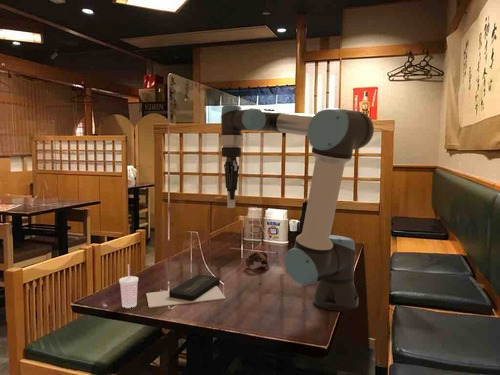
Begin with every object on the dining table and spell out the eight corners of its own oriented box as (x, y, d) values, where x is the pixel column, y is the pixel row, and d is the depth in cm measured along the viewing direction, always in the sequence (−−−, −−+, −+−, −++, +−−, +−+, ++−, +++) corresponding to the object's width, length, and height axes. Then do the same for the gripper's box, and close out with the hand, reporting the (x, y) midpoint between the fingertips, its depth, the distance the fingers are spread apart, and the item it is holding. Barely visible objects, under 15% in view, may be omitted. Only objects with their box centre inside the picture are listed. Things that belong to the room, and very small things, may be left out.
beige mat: (225, 299, 138) (225, 297, 138) (148, 308, 130) (148, 307, 130) (216, 286, 150) (216, 285, 150) (146, 294, 142) (146, 293, 142)
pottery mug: (265, 274, 167) (256, 257, 166) (249, 280, 172) (239, 264, 171) (276, 260, 177) (267, 244, 176) (260, 266, 182) (251, 251, 181)
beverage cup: (119, 309, 128) (118, 267, 127) (120, 302, 134) (119, 262, 133) (139, 307, 130) (138, 266, 129) (138, 300, 136) (137, 261, 135)
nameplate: (168, 297, 138) (192, 301, 135) (167, 291, 138) (192, 296, 134) (198, 278, 158) (220, 282, 154) (198, 274, 158) (220, 277, 154)
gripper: (245, 146, 146) (245, 209, 149) (235, 146, 159) (235, 204, 161) (226, 146, 144) (226, 210, 146) (217, 146, 156) (217, 205, 159)
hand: (231, 207), depth 154 cm, fingers closed
